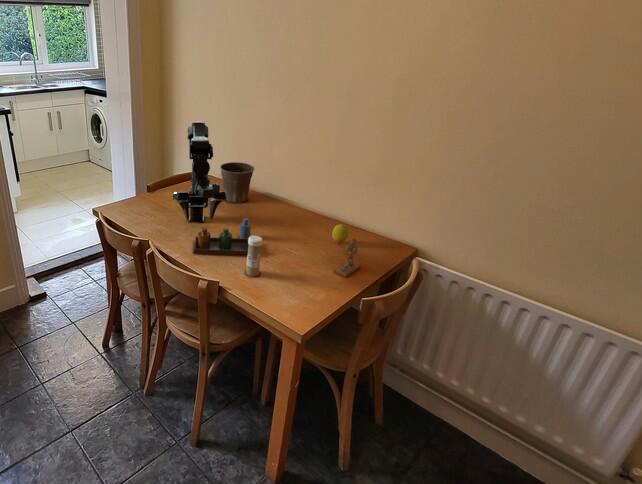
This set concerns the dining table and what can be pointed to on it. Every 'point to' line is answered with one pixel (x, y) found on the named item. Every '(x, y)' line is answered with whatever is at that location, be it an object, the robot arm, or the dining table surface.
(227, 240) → the green bottle
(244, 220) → the blue bottle
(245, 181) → the plant pot
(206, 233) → the amber bottle
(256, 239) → the sprinkles bottle
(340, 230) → the lemon
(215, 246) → the tray
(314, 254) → the dining table surface
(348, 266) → the grey statuette
